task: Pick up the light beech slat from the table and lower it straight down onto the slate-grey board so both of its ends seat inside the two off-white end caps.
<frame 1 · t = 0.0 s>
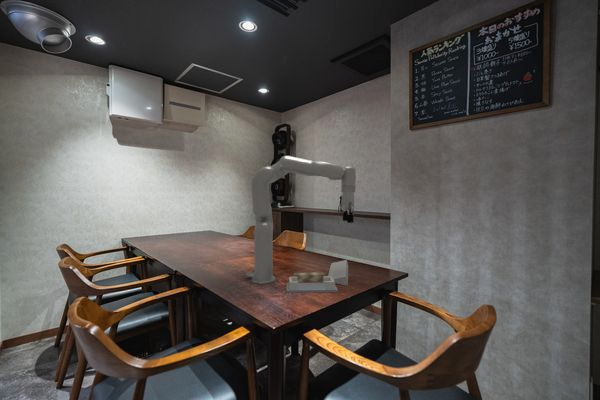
hand: (347, 221, 140), 31 cm above the table, tool pointing down, fingers open, 9 cm apart
slat: (308, 281, 138), on the table
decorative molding: (338, 275, 149), on the table
cradle: (311, 288, 127), on the table
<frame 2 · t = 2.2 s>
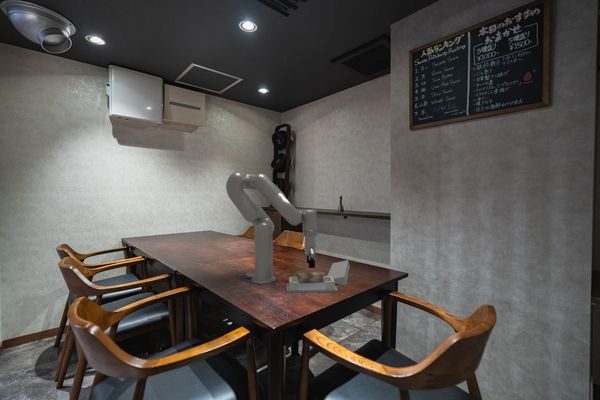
hand: (310, 265, 138), 8 cm above the table, tool pointing down, fingers open, 9 cm apart
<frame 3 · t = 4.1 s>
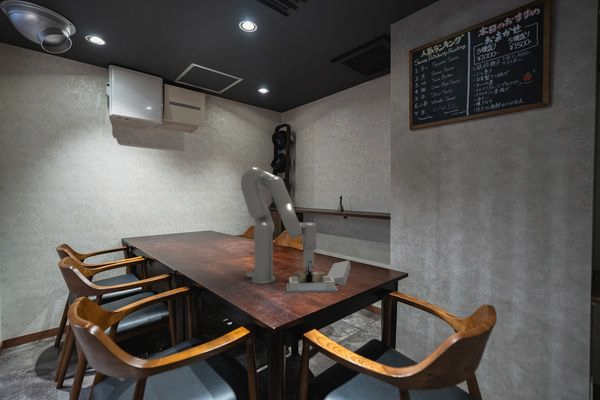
hand: (308, 280, 138), 0 cm above the table, tool pointing down, fingers closed on slat, 4 cm apart
slat: (308, 280, 138), on the table, touching gripper
everything else where it was.
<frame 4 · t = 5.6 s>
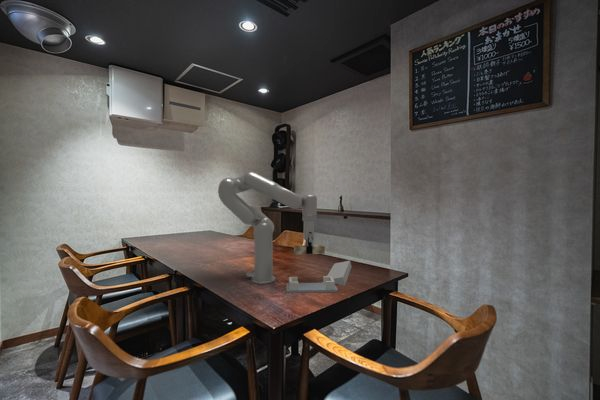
hand: (308, 252, 138), 15 cm above the table, tool pointing down, fingers closed on slat, 4 cm apart
slat: (309, 253, 138), point 14 cm above the table, touching gripper
when the fingers open (2 cm above the table, at t = 8.4 s): slat stays where it is, resting on cradle.
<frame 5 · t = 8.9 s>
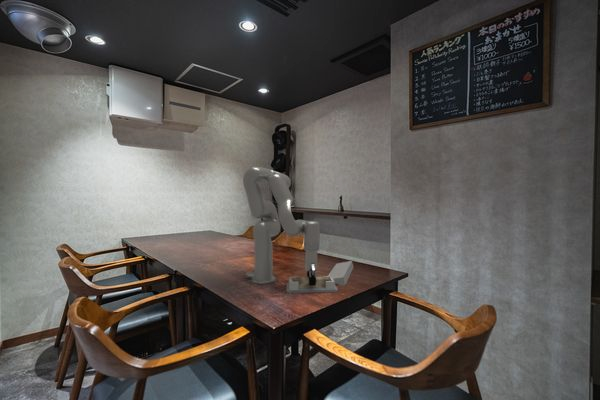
hand: (311, 281, 127), 3 cm above the table, tool pointing down, fingers open, 9 cm apart
slat: (311, 286, 127), point 1 cm above the table, touching cradle
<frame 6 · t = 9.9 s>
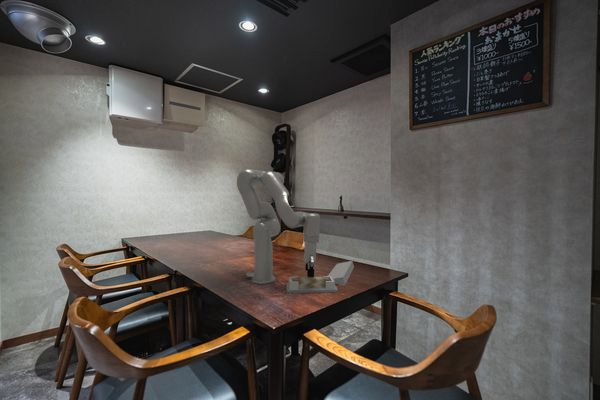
hand: (309, 273, 127), 7 cm above the table, tool pointing down, fingers open, 9 cm apart
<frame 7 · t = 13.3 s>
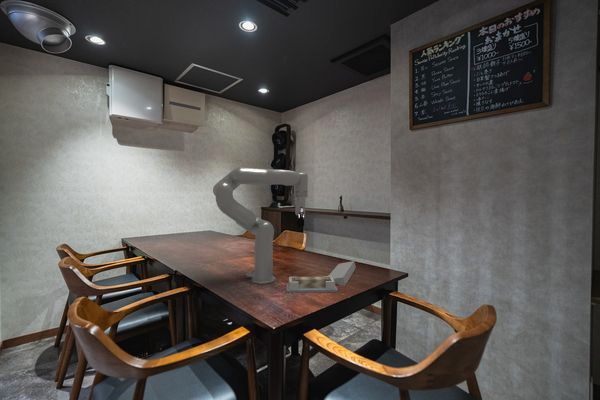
hand: (300, 225, 147), 28 cm above the table, tool pointing down, fingers open, 9 cm apart
at the end: slat 0.2 cm off-centre on the cradle, point 1.0 cm above the cradle's base; slat tilted 0°; the gripper is holding nothing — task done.
